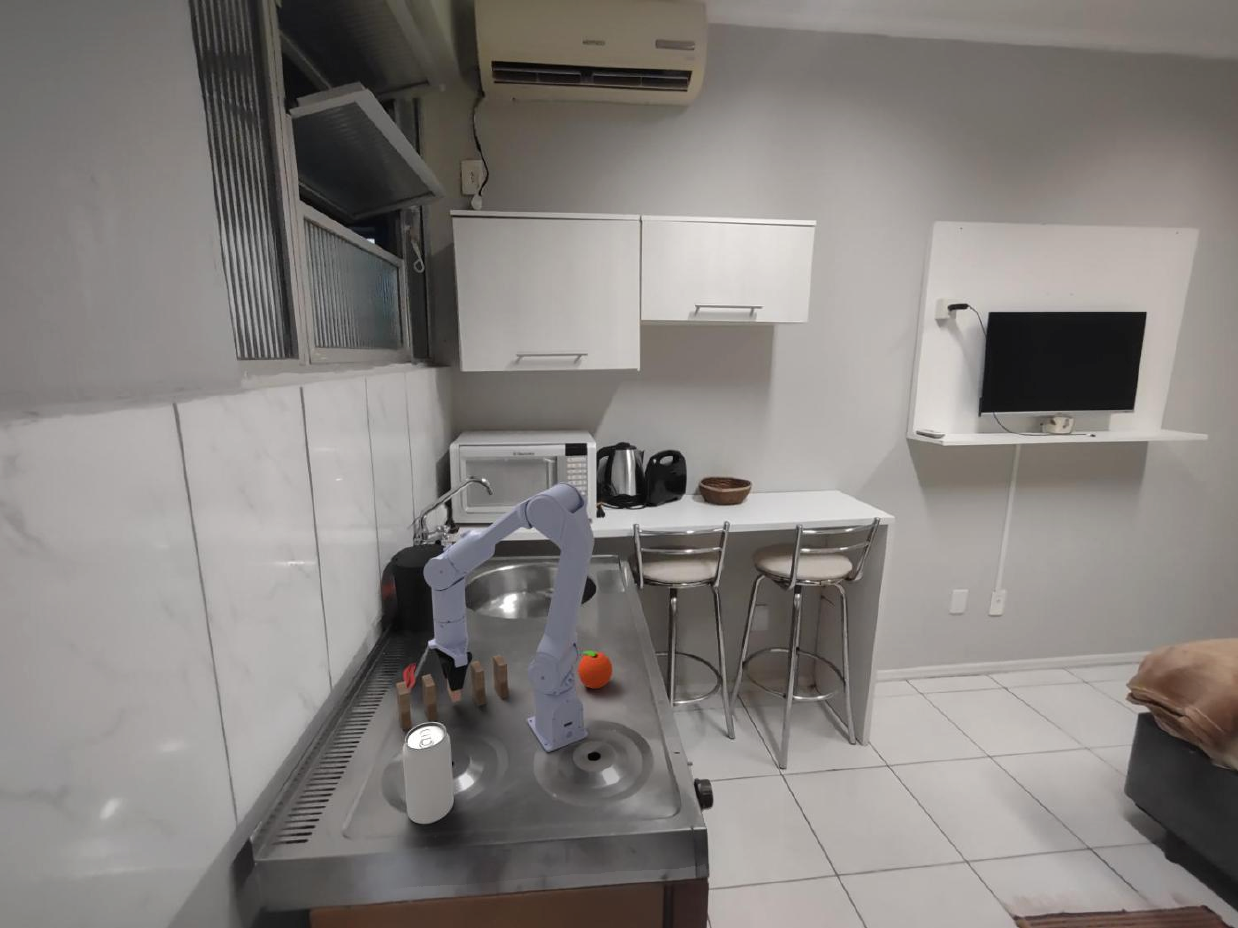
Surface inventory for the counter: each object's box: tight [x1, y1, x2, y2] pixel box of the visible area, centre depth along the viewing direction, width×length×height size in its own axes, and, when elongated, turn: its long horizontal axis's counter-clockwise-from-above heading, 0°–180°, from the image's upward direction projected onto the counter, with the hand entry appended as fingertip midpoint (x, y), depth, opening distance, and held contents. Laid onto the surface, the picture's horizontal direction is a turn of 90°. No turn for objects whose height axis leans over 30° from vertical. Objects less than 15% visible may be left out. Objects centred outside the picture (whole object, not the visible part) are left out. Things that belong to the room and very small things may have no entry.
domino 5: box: [492, 654, 509, 700], centre depth 105 cm, size 4×2×7 cm, turn 31°
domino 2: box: [421, 673, 438, 722], centre depth 98 cm, size 4×2×7 cm, turn 31°
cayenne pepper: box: [402, 662, 418, 691], centre depth 110 cm, size 12×5×2 cm, turn 174°
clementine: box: [577, 650, 613, 689], centre depth 108 cm, size 8×7×7 cm
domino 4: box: [469, 660, 487, 707], centre depth 103 cm, size 4×2×7 cm, turn 31°
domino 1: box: [395, 680, 412, 731], centre depth 96 cm, size 4×2×7 cm, turn 31°
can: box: [402, 721, 455, 825], centre depth 77 cm, size 6×6×12 cm
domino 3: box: [446, 679, 462, 703], centre depth 100 cm, size 4×2×7 cm, turn 31°
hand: (453, 682), depth 100 cm, fingers closed on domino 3, 4 cm apart
